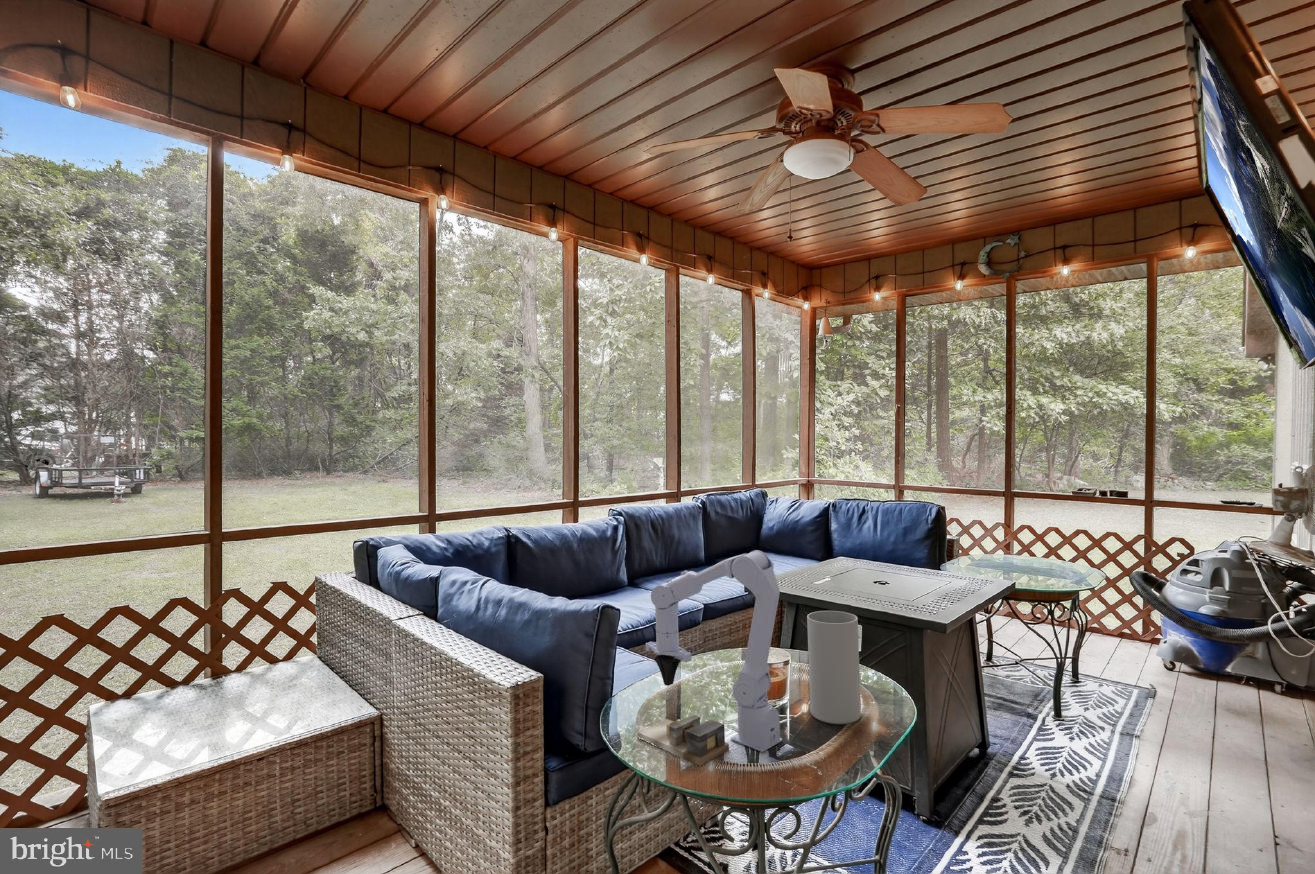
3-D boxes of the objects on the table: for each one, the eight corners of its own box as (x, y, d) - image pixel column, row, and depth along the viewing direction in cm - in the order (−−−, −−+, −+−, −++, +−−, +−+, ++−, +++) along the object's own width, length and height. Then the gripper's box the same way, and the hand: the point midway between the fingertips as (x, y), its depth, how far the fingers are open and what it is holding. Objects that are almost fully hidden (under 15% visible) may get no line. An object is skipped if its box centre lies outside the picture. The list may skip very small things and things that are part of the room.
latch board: (729, 750, 147) (728, 723, 147) (699, 766, 140) (698, 738, 140) (667, 725, 161) (666, 700, 161) (637, 738, 154) (637, 713, 154)
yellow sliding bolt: (717, 745, 146) (717, 734, 146) (704, 752, 142) (704, 740, 143) (679, 729, 154) (679, 719, 154) (666, 735, 151) (666, 725, 151)
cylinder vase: (830, 729, 156) (826, 626, 156) (800, 710, 168) (797, 614, 168) (871, 719, 161) (868, 619, 161) (839, 702, 172) (836, 608, 173)
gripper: (636, 628, 166) (638, 681, 166) (676, 639, 156) (678, 696, 155) (656, 623, 171) (657, 674, 171) (696, 633, 161) (697, 687, 160)
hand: (668, 684), depth 163 cm, fingers closed
